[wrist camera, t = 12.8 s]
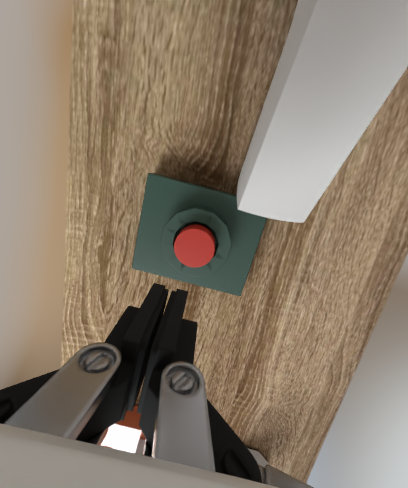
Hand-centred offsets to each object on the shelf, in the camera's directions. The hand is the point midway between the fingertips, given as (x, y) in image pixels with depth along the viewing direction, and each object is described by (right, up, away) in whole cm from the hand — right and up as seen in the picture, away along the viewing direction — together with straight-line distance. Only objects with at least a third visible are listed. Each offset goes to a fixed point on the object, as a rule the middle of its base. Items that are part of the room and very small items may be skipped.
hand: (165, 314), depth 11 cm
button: (+1, +3, +11) cm, 12 cm away
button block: (+1, +4, +14) cm, 15 cm away
